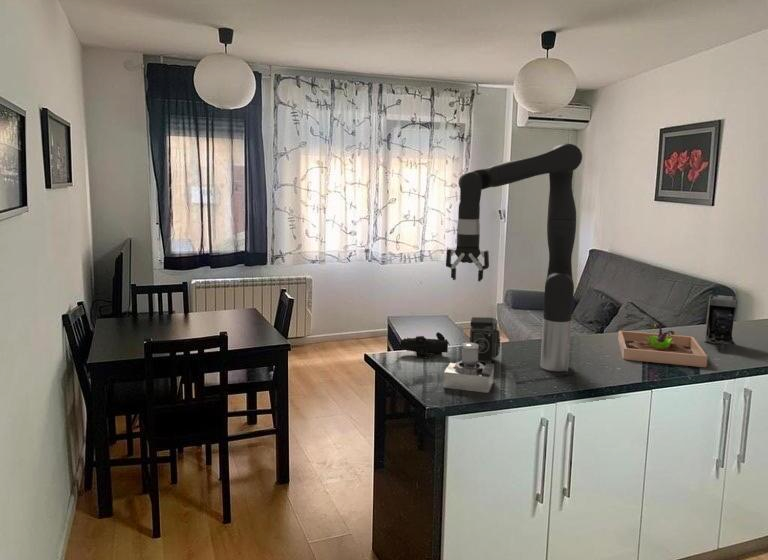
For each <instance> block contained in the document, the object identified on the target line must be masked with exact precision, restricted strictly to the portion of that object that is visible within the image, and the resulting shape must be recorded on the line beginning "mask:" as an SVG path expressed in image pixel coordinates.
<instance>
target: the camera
mask: <svg viewBox="0 0 768 560" xmlns="http://www.w3.org/2000/svg"><path fill="white" fill-rule="evenodd" d="M498 323H499V322H498V319H497V318H493V317H475V316H473V317H471V319H470V328H469V343H476V344H478V362H479V363H485V364H486V363H487V364H492V361H493V359H496V357H498V355H500V350H501V332H500V330H498V325H499V324H498Z"/></svg>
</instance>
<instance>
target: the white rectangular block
mask: <svg viewBox="0 0 768 560" xmlns="http://www.w3.org/2000/svg"><path fill="white" fill-rule="evenodd" d="M494 370H495V364H493V363H486V362H485V365H484V364H483V363H482V362H478V368H464V367H462V360H461V361H458V362H449V364H448V366H446V368H445V370H444V371H443V385H442V386H443V387H444V389H445V388H446V389H451V390H452V389H454V390H460V391H461V390H462V391H469V392H478V393H487V394H490V391H491V388H492V386H493V384H494Z"/></svg>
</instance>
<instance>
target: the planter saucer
mask: <svg viewBox="0 0 768 560" xmlns="http://www.w3.org/2000/svg"><path fill="white" fill-rule="evenodd" d="M653 335H655V336H657V337H659V333H652V332H641V331H640V332H639V331H630V330H629V331H628V330H627V331H626V330H618V336H617V338H618V339H617V341H619V342H618V345H619V349H620V352H621V356H622V360H628V361H639V362H648V363H649V362H650V363H656V364H657V363H658V364H670V365H679V366H690V367H699V368H707V365H708V364H707V363H708V355H707V354H706V352H705V351H704V350H703V348H702V347H701V346H700V344H699V343H698V341H697V340H696V339H695V337H694V336H688V335H676V334H675V335H672V334H670V335H671V338H672V340H671V341H670V342H674V343H673V344H676V345H678V346H681V347H684V348H685V347H686V348H689V349H690V351H692V354H685V353H674V352H664V351H653V350H642V349H631V348H628V346H627V345H626V342H627V341H649V340H648V339H646V338H649V339H650V340H652V339H651V338H650V336H651V337H653ZM667 336H668V334H667V335H666V336H665V339H666V338H667Z"/></svg>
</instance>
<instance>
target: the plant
mask: <svg viewBox="0 0 768 560" xmlns="http://www.w3.org/2000/svg"><path fill="white" fill-rule="evenodd" d="M653 328H654V329H657V328H658V329H659V331H658V334H659V337H657V336H655V335H653V337H651V336H650V338H651V339H652V340H650V339H649V338H646V339H648V340H649V341H637V342H628V346H627V348H631V349H642V350H653V351H664V352H674V353H685V354H693V351H692V350H691V349H690V350H689V349H687V348H685V347H683V346H678V345H676V344H673V343H674V342H670V341H671V340H672V338H671V335H676V333H675V331H674V330H668V331H665V332H663V328H662V327H661V325H660V324H659V323H654V325H653ZM670 333H671V334H670ZM666 335H668V336H667V338H666V339H665V336H666Z"/></svg>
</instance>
